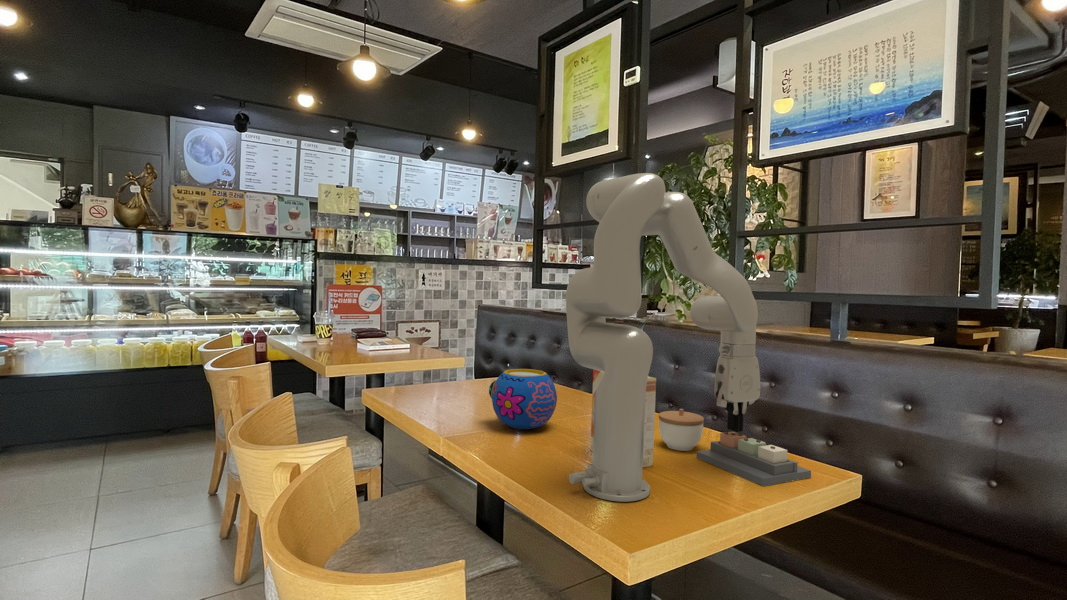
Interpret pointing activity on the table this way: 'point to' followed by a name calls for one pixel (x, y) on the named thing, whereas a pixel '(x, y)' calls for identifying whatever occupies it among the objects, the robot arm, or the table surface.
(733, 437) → the tile three
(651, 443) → the coffeecake box
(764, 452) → the tile one
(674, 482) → the table surface
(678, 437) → the lidded jar
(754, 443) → the tile two
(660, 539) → the table surface
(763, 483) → the board
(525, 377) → the ceramic pot
